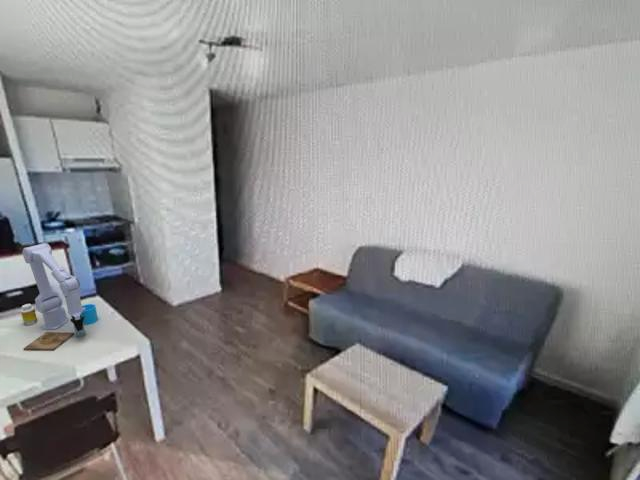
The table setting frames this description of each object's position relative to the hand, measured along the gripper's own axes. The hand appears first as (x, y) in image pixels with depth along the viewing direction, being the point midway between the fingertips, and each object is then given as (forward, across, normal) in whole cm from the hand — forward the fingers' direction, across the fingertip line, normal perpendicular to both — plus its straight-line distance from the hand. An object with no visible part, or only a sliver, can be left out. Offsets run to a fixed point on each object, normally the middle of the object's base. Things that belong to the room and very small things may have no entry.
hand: (79, 327), depth 174 cm
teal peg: (+5, 0, 0) cm, 5 cm away
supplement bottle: (+5, +30, +19) cm, 36 cm away
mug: (+5, +15, -5) cm, 17 cm away
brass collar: (+5, +3, +12) cm, 13 cm away
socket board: (+5, +3, +12) cm, 13 cm away
